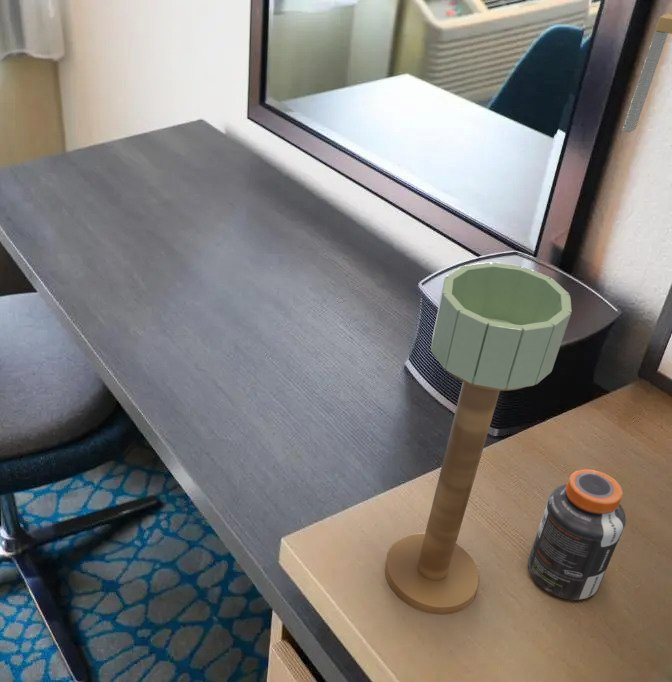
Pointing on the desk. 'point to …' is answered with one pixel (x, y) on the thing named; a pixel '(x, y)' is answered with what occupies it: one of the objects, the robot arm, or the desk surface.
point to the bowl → (500, 325)
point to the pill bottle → (578, 535)
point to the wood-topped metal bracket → (648, 71)
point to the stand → (446, 517)
